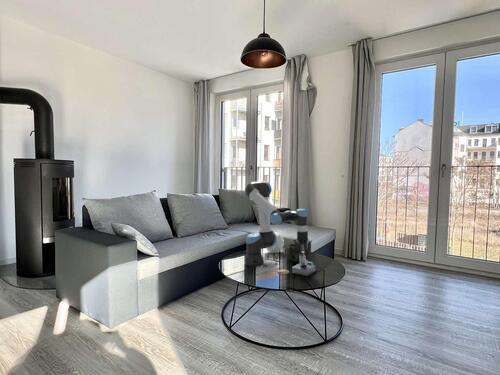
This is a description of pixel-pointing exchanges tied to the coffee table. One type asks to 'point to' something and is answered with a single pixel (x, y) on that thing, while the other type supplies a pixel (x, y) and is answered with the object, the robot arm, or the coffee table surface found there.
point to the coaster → (283, 271)
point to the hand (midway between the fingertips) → (303, 263)
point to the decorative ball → (277, 244)
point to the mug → (292, 253)
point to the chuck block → (304, 269)
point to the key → (302, 259)
